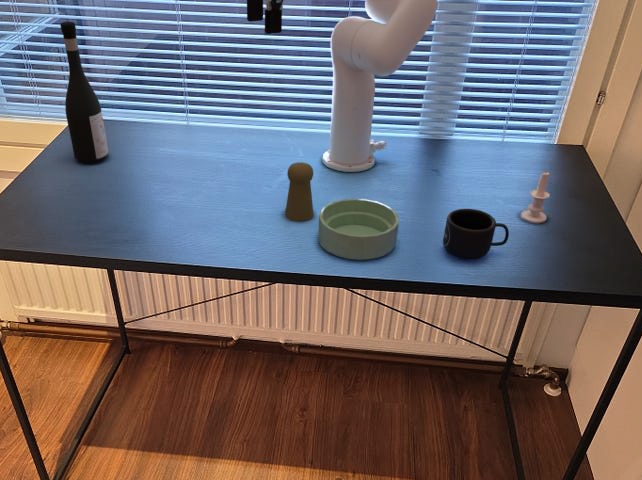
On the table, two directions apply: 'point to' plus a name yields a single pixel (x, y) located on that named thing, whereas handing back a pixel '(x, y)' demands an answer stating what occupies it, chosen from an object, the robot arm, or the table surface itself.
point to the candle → (537, 202)
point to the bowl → (358, 228)
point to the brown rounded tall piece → (299, 193)
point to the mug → (470, 234)
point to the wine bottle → (82, 107)
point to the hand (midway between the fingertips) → (263, 26)
